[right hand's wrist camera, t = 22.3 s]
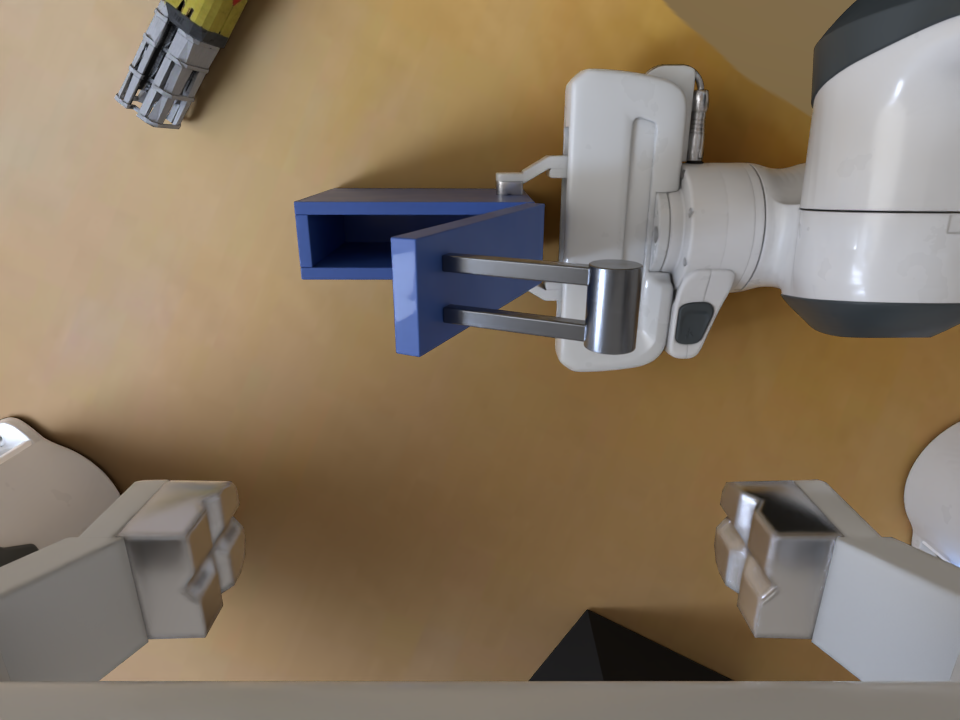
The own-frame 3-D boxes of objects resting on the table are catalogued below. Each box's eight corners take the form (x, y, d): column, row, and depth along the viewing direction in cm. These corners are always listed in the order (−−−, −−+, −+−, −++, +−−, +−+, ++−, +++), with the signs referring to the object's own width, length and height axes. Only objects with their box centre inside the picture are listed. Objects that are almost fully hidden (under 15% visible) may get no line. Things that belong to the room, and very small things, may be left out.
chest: (338, 250, 48) (301, 279, 38) (333, 188, 46) (293, 201, 36) (521, 250, 48) (532, 279, 38) (522, 188, 46) (534, 201, 36)
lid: (395, 353, 25) (620, 390, 21) (389, 236, 23) (631, 255, 20) (524, 281, 37) (678, 296, 34) (526, 202, 36) (688, 210, 32)
